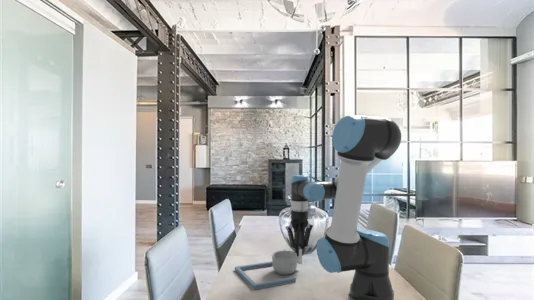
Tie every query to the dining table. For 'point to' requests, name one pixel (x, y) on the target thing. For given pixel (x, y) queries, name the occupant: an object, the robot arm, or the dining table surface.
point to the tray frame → (263, 284)
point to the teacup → (284, 262)
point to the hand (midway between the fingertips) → (299, 263)
